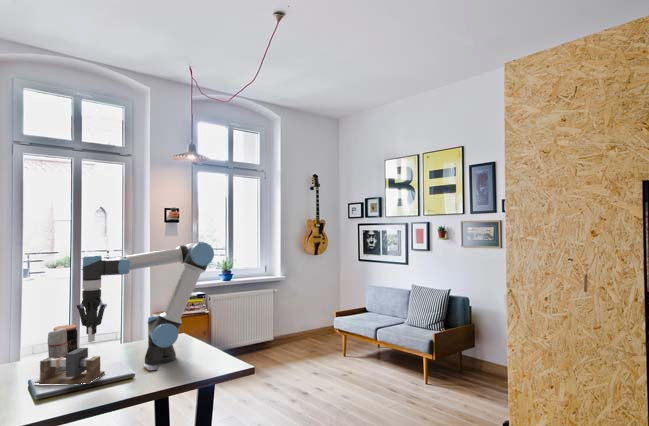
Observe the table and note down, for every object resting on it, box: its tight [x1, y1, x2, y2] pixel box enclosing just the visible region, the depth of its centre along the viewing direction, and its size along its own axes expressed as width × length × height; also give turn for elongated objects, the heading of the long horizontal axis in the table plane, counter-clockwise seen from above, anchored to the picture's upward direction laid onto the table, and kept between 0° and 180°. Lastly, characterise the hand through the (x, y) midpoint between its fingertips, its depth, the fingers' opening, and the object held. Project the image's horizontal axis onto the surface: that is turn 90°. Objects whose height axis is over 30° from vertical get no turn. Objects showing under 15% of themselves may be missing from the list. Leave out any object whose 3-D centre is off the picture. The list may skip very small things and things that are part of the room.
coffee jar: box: [53, 324, 78, 353], centre depth 217 cm, size 11×11×18 cm
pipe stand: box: [34, 355, 105, 385], centre depth 189 cm, size 24×13×10 cm, turn 89°
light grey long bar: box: [49, 356, 94, 368], centre depth 190 cm, size 21×4×4 cm, turn 89°
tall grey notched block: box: [65, 347, 89, 377], centre depth 190 cm, size 4×10×10 cm, turn 179°
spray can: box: [47, 328, 68, 372], centre depth 204 cm, size 8×8×20 cm
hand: (91, 341), depth 190 cm, fingers closed
